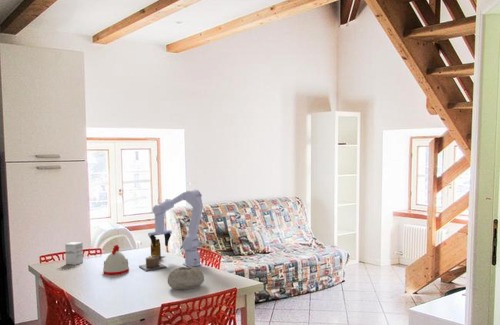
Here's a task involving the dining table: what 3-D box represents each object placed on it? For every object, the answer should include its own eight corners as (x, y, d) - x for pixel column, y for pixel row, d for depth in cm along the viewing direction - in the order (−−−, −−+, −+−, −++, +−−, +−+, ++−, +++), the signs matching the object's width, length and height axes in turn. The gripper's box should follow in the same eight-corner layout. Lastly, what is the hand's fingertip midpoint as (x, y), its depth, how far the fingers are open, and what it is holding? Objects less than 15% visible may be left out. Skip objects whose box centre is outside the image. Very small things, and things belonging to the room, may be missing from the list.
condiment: (148, 259, 282) (147, 240, 281) (155, 256, 290) (154, 237, 289) (158, 259, 279) (157, 240, 279) (165, 256, 287) (164, 238, 287)
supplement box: (65, 264, 273) (64, 243, 273) (73, 261, 280) (72, 241, 280) (75, 265, 271) (74, 244, 271) (83, 262, 278) (82, 242, 278)
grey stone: (187, 280, 231) (187, 261, 230) (212, 286, 219) (211, 266, 219) (160, 289, 217) (159, 269, 217) (185, 296, 206) (184, 274, 205)
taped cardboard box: (154, 267, 257) (153, 257, 256) (146, 266, 258) (145, 257, 258) (159, 264, 262) (158, 255, 261) (151, 264, 263) (150, 254, 263)
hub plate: (166, 267, 258) (166, 261, 258) (146, 271, 252) (146, 264, 251) (158, 263, 268) (158, 257, 268) (139, 267, 262) (138, 260, 262)
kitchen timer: (132, 268, 259) (131, 243, 258) (123, 275, 245) (122, 248, 245) (109, 268, 260) (108, 243, 260) (99, 275, 246) (98, 248, 246)
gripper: (168, 222, 280) (169, 243, 280) (146, 224, 272) (146, 247, 272) (172, 223, 274) (173, 245, 274) (150, 226, 266) (150, 249, 266)
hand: (160, 246), depth 273 cm, fingers open, 7 cm apart
